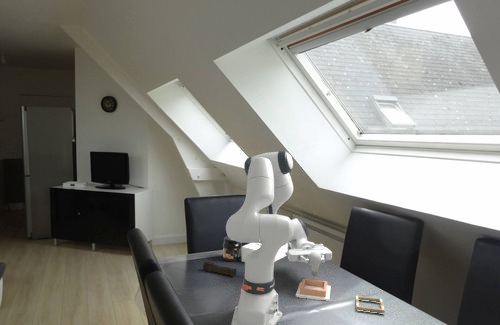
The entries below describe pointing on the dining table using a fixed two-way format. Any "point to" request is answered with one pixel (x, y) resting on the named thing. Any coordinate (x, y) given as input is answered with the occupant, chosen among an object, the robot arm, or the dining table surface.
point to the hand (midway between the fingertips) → (315, 261)
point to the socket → (313, 290)
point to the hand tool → (219, 269)
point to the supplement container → (231, 250)
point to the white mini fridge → (255, 246)
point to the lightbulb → (314, 262)
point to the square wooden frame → (368, 307)
